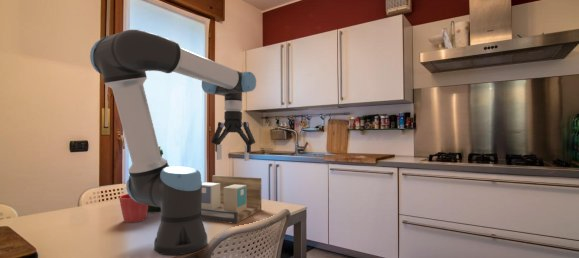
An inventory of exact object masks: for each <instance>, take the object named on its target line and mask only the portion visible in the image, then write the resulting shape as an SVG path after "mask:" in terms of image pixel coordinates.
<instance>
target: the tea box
mask: <svg viewBox="0 0 579 258" xmlns="http://www.w3.org/2000/svg"><path fill="white" fill-rule="evenodd" d="M245 209H247V208H246V185H236V184H234V185H230V186H227V187H224V211H232V212H238V213H239V212H241V211H243V210H245Z"/></svg>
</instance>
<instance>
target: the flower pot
mask: <svg viewBox="0 0 579 258" xmlns="http://www.w3.org/2000/svg"><path fill="white" fill-rule="evenodd" d="M118 200H119V203H120V208H121V209H120V210H121V214H122V218H123V219H122V220H123V222H125V223H138V222H142V221H145V220H146V219H147V215H148V211H147V210H148V205H143V204H140V203H138V202H136V201H134V200H133V199H132V198H131V197H130V196H129V194H128V193H126V194H123V195H120V196H119V198H118Z"/></svg>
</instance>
